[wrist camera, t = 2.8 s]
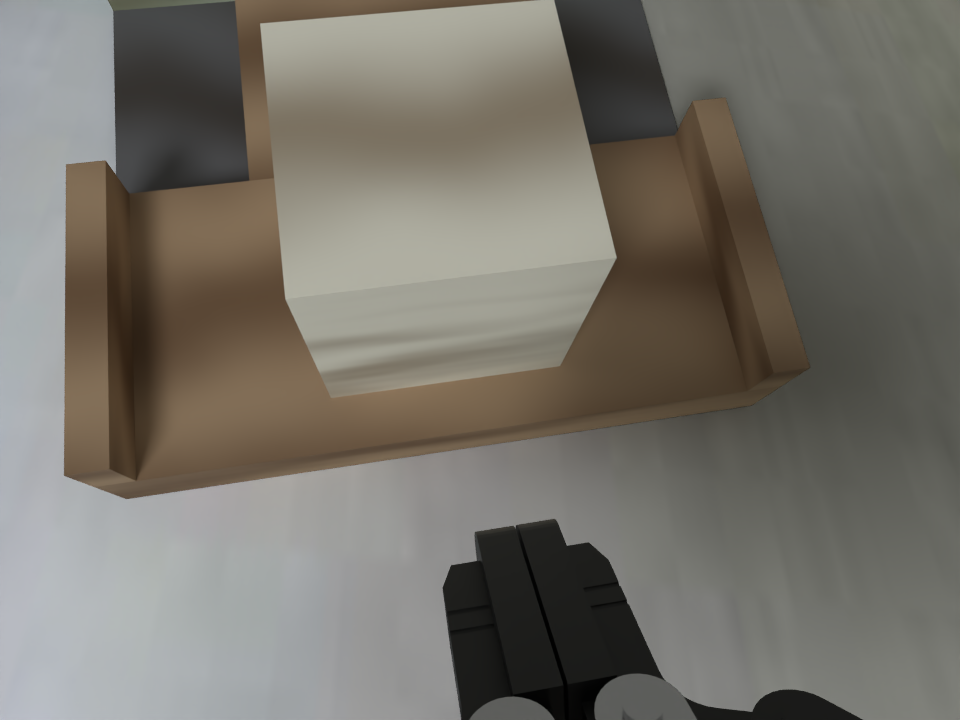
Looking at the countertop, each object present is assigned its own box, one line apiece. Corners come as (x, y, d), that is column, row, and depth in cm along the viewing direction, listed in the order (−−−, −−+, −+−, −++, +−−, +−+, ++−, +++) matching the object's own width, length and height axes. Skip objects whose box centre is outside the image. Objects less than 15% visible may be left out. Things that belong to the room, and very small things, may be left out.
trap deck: (751, 405, 27) (826, 356, 22) (126, 498, 25) (46, 469, 20) (578, -203, 37) (602, -336, 32) (113, -177, 35) (57, -318, 29)
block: (560, 366, 25) (616, 257, 17) (331, 398, 24) (285, 299, 16) (519, 170, 27) (553, -1, 20) (309, 193, 26) (259, 23, 19)
